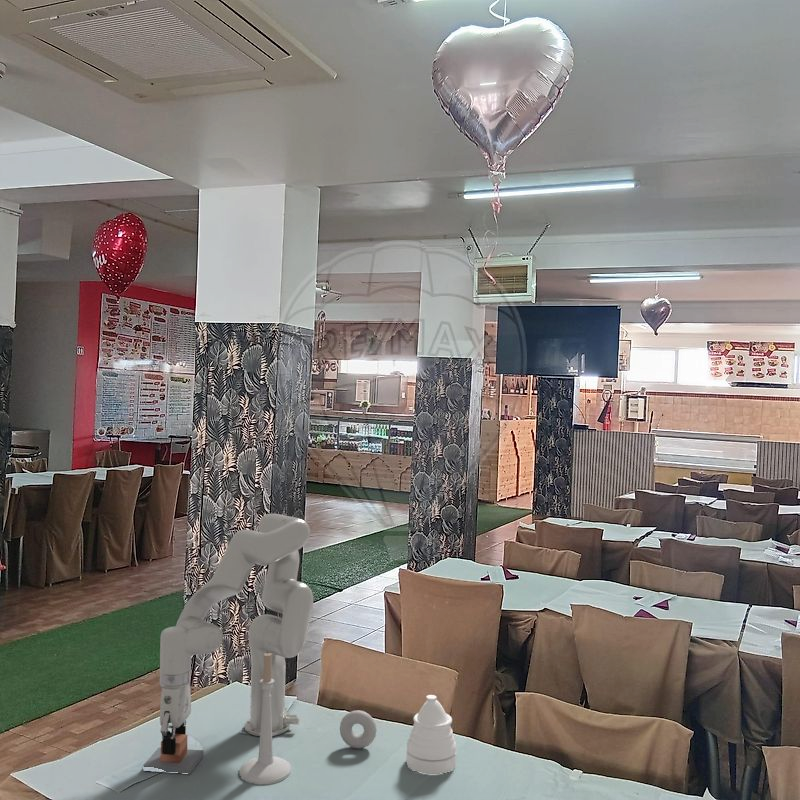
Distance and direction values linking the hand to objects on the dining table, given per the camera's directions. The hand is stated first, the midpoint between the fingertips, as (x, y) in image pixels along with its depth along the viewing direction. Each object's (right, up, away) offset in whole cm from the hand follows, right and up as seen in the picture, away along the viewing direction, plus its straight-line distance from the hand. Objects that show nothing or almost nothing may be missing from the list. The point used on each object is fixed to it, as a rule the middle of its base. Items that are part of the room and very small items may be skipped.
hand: (174, 746), depth 201 cm
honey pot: (+65, -6, +3) cm, 66 cm away
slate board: (0, -4, 0) cm, 4 cm away
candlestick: (+24, -5, -3) cm, 24 cm away
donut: (+46, -5, +11) cm, 48 cm away
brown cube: (0, -3, 0) cm, 3 cm away
